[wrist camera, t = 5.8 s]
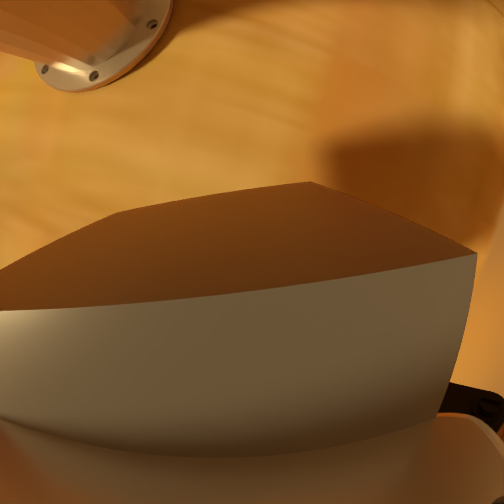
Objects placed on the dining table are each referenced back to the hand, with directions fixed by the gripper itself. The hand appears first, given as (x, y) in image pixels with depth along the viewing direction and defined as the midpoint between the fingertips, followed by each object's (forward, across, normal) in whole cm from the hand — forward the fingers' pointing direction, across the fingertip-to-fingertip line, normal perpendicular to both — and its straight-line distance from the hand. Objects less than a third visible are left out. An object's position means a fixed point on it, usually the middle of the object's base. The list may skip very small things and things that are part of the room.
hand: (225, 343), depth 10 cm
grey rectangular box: (+2, 0, 0) cm, 2 cm away
